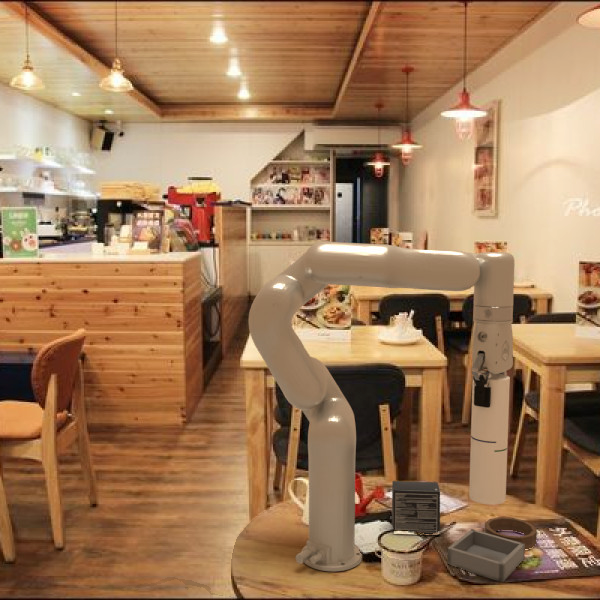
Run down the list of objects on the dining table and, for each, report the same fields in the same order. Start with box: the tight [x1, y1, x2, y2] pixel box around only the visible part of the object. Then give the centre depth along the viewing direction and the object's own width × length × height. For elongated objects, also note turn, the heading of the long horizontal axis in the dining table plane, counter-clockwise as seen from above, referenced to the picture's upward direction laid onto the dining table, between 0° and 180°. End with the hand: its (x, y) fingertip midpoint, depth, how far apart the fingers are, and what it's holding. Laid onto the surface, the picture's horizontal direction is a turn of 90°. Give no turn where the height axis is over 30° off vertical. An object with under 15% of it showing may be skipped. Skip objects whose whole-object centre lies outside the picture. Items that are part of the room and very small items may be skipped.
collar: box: [484, 516, 538, 549], centre depth 149 cm, size 11×11×3 cm
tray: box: [446, 528, 526, 583], centre depth 139 cm, size 12×12×4 cm
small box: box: [391, 480, 441, 534], centre depth 154 cm, size 11×6×10 cm, turn 84°
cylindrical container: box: [468, 373, 511, 506], centre depth 137 cm, size 7×7×25 cm
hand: (490, 402), depth 136 cm, fingers closed on cylindrical container, 7 cm apart
